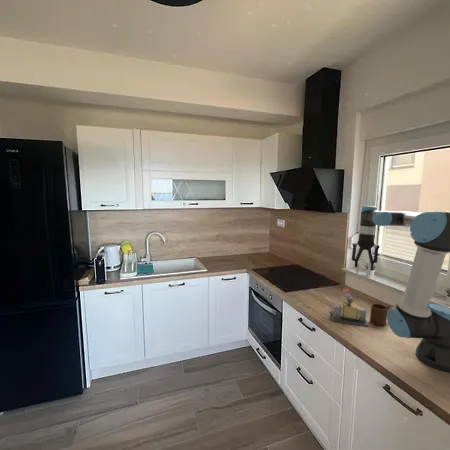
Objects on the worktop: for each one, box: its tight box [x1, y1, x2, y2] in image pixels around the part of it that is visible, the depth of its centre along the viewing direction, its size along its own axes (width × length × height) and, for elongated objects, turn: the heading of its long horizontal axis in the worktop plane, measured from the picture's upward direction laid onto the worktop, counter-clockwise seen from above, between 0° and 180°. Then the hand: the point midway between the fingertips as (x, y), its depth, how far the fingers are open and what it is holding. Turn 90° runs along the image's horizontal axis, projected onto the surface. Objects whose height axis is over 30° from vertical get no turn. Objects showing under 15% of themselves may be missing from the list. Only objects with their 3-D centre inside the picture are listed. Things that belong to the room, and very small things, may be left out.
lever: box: [342, 288, 355, 303], centre depth 148 cm, size 16×4×2 cm, turn 164°
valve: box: [330, 301, 369, 328], centre depth 143 cm, size 12×17×10 cm
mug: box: [369, 303, 391, 327], centre depth 140 cm, size 12×8×9 cm, turn 111°
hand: (362, 273), depth 146 cm, fingers open, 5 cm apart
